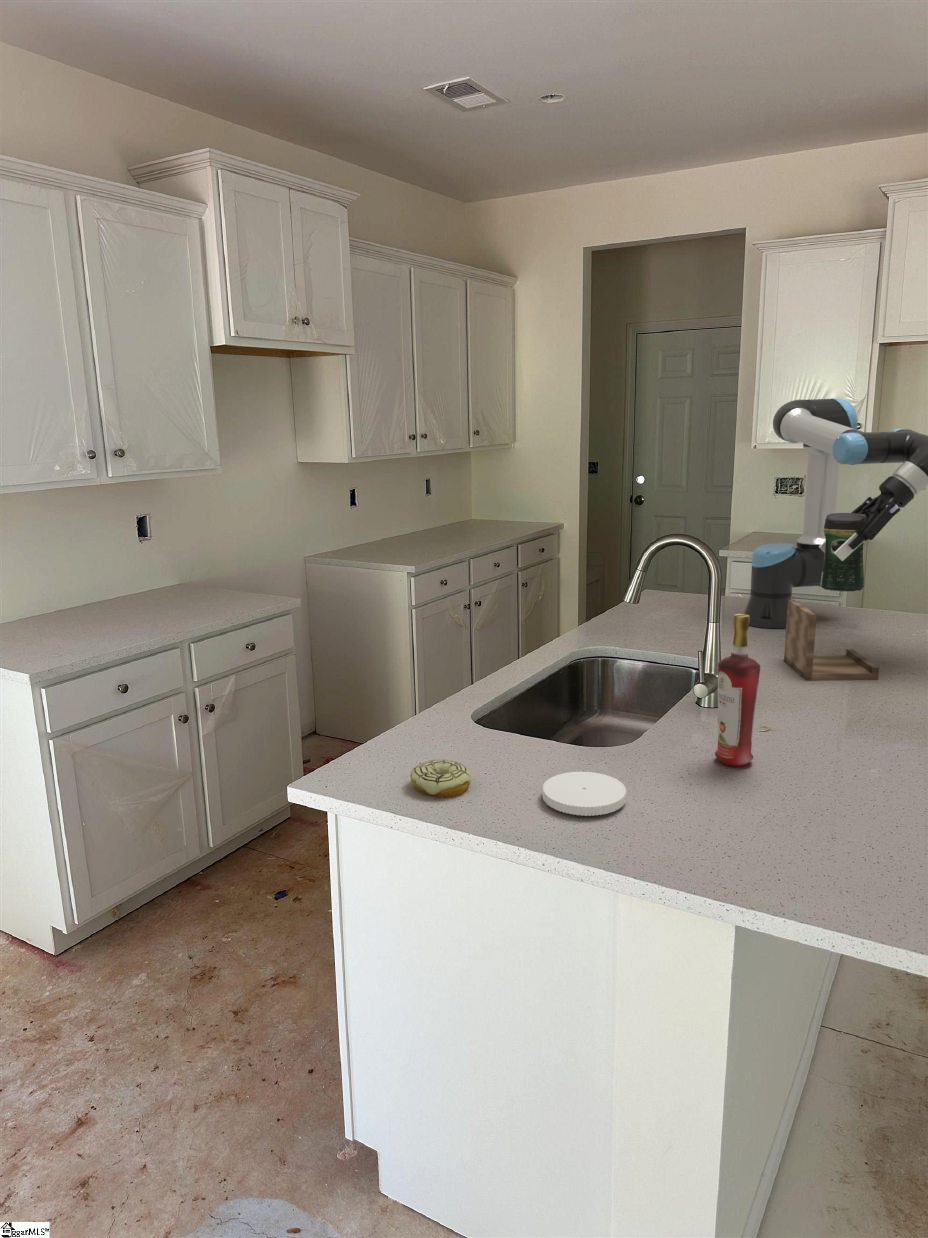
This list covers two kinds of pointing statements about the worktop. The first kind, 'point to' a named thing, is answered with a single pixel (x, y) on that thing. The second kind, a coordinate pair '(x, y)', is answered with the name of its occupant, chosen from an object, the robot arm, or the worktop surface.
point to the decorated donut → (441, 778)
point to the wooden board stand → (819, 666)
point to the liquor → (737, 699)
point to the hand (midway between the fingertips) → (830, 553)
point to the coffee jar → (851, 568)
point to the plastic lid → (584, 793)
